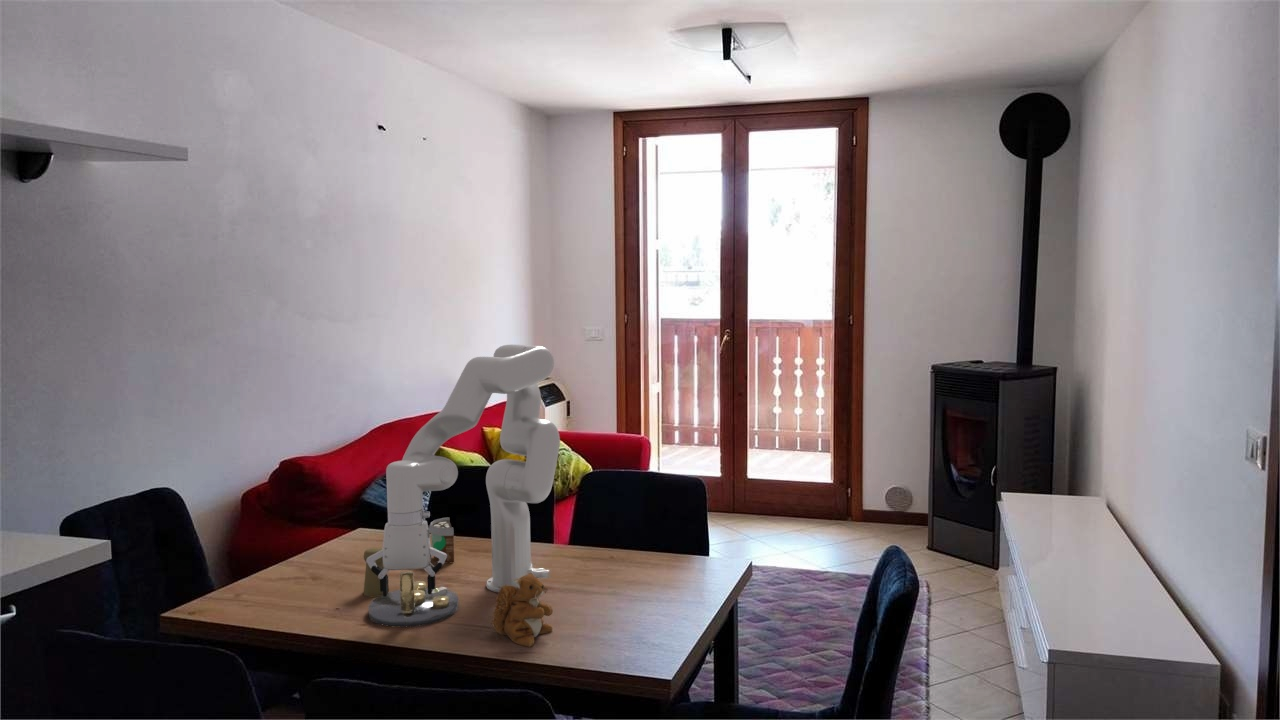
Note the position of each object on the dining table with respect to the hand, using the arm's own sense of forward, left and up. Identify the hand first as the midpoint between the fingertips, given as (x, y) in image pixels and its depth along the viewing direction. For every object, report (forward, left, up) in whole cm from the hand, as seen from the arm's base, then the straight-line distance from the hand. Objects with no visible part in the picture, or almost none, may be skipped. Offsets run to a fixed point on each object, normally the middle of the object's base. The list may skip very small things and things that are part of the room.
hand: (408, 593), depth 195 cm
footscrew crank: (0, -5, -5) cm, 7 cm away
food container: (-2, -47, -7) cm, 48 cm away
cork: (+11, -22, -7) cm, 26 cm away
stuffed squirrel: (-25, +10, -7) cm, 27 cm away
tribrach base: (0, -8, -7) cm, 10 cm away
